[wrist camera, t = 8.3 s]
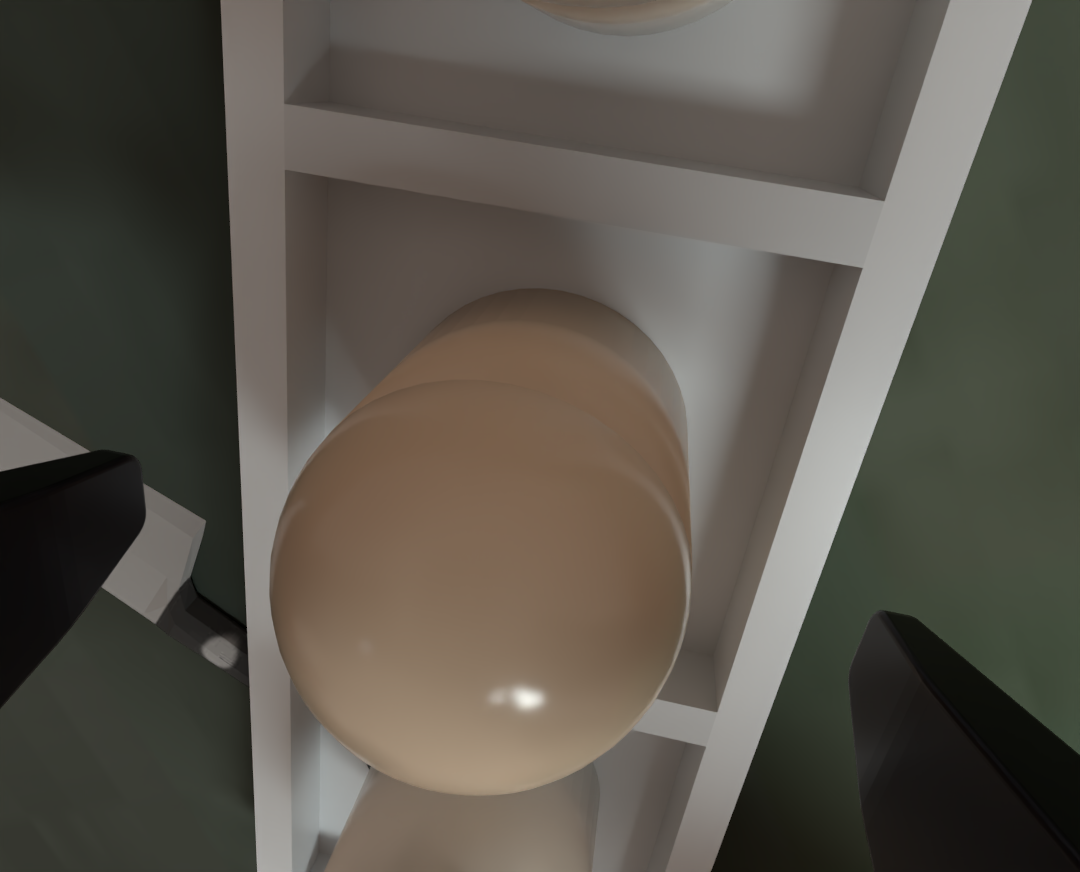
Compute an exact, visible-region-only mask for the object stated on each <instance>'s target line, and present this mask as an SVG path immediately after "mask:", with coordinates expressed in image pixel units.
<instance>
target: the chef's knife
mask: <svg viewBox="0 0 1080 872" xmlns="http://www.w3.org/2000/svg"><path fill="white" fill-rule="evenodd" d="M88 452H90V451H88V450H87V449H85V448H83V447H82V446H80V445H78V444H77V443H75V442H73V441H72V440H70V439H68V438H67V437H65V436H63V435H62V434H60V433H58V432H57V431H55V430H53V429H52V428H50V427H48V426H47V425H45V424H43V423H42V422H40V421H38V420H37V419H35V418H33V417H32V416H30V415H28V414H27V413H25V412H23V411H22V410H20V409H18V408H17V407H15V406H13V405H12V404H10V403H8V402H7V401H5V400H3V399H2V398H0V471H5V470H9V469H14V468H19V467H23V466H28V465H32V464H37V463H42V462H46V461H51V460H56V459H60V458H65V457H69V456H74V455H79V454H83V453H88ZM143 485H144V494H145V504H146V520H145V523H144V526H143V528H142V530H141V532H140V534H139V535H138V537H137V538H136V539H135V541H134V542H133V544H132V545H131V546H130V548H129V549H128V551H127V552H126V553H125V555H124V556H123V557H122V559H121V560H120V562H119V563H118V564H117V566H116V567H115V569H114V570H113V571H112V573H111V574H110V576H109V577H108V578H107V580H106V581H105V583H104V584H103V585H102V588H104V589H105V590H107V591H108V592H109V593H111V594H112V595H114V596H115V597H117V598H118V599H120V600H121V601H123V602H124V603H126V604H127V605H129V606H130V607H131V608H133V609H134V610H136V611H137V612H139V613H140V614H142V615H143V616H145V617H146V618H147V619H149V620H150V621H152V622H153V623H155V624H156V625H157V626H158V627H159V628H160V629H162V630H163V631H164V632H165V633H166V634H167V635H169V636H170V637H172V638H173V639H175V640H177V641H178V642H180V643H181V644H183V645H185V646H186V647H188V648H189V649H191V650H193V651H194V652H196V653H197V654H199V655H201V656H202V657H204V658H205V659H207V660H209V661H210V662H212V663H213V664H215V665H216V666H218V667H219V668H221V669H222V670H224V671H225V672H227V673H228V674H230V675H231V676H233V677H234V678H236V679H237V680H239V681H240V682H242V683H243V684H245V685H246V686H248V687H249V688H250V685H249V662H248V638H247V631H246V630H245V629H244V628H243V627H241V626H240V625H239V624H237V623H236V622H234V621H233V620H232V619H230V618H229V617H227V616H226V615H225V614H223V613H222V612H220V611H219V610H218V609H216V608H215V607H214V606H212V605H211V604H209V603H208V602H207V601H205V600H204V599H202V598H201V597H200V596H199V595H198V594H197V592H196V590H195V588H194V585H193V583H192V580H191V577H190V576H191V573H192V570H193V566H194V563H195V560H196V557H197V553H198V550H199V547H200V544H201V540H202V537H203V533H204V528H205V524H206V521H205V520H204V519H202V518H200V517H199V516H197V515H195V514H194V513H192V512H190V511H189V510H187V509H185V508H184V507H182V506H180V505H179V504H177V503H175V502H174V501H172V500H170V499H169V498H167V497H165V496H164V495H162V494H160V493H159V492H157V491H155V490H154V489H152V488H150V487H149V486H147V485H145V484H144V483H143ZM367 766H368V768H369V770H370V767H371V766H370V765H368V764H367Z"/></svg>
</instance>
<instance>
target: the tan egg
mask: <svg viewBox="0 0 1080 872" xmlns="http://www.w3.org/2000/svg"><path fill="white" fill-rule="evenodd" d="M691 595H692V542H691V512H690V483H689V453H688V425H687V416H686V408H685V404H684V400H683V396H682V393H681V389H680V387H679V384H678V382H677V380H676V377H675V375H674V373H673V370H672V369H671V367H670V366H669V364H668V362H667V361H666V359H665V357H664V356H663V354H662V353H661V352H660V350H659V349H658V348H657V347H656V345H655V344H654V343H653V342H652V340H651V339H650V338H649V337H648V336H647V335H646V334H645V333H643V332H642V331H641V330H640V329H639V328H638V327H637V326H636V325H635V324H634V323H632V322H631V321H629V320H628V319H627V318H625V317H624V316H622V315H621V314H620V313H618V312H616V311H614V310H613V309H611V308H609V307H607V306H605V305H603V304H602V303H599V302H597V301H594V300H592V299H589V298H586V297H584V296H581V295H577V294H573V293H569V292H565V291H561V290H552V289H543V288H530V289H515V290H509V291H502V292H498V293H495V294H492V295H488V296H485V297H482V298H480V299H477V300H475V301H473V302H471V303H469V304H466V305H464V306H463V307H461V308H460V309H458V310H457V311H455V312H453V313H452V314H450V315H449V316H448V317H446V318H445V319H444V320H443V321H442V322H441V323H440V324H438V325H437V326H436V327H435V328H434V329H433V330H432V331H431V332H430V333H429V334H428V335H427V336H426V337H425V338H424V339H423V340H422V341H421V342H420V343H419V344H418V345H417V346H416V347H415V348H414V349H413V350H412V351H411V352H410V353H409V354H408V355H407V356H406V357H405V358H404V359H403V360H402V361H401V362H400V363H399V364H398V365H397V366H396V367H395V368H394V369H393V370H392V371H391V372H390V373H389V374H388V375H387V376H386V377H385V378H384V379H383V380H382V381H381V382H380V383H379V384H378V385H377V386H376V387H375V388H374V389H373V390H372V391H371V392H370V393H369V394H368V395H367V396H366V397H365V398H364V399H363V400H362V401H361V402H360V403H359V404H358V405H357V406H356V407H355V408H354V409H353V410H352V411H351V412H350V413H349V414H348V415H347V416H346V417H345V418H344V419H343V420H342V421H341V422H340V423H339V424H338V425H337V426H336V427H335V428H334V429H333V430H332V431H331V432H330V433H329V435H328V436H327V437H326V438H325V439H324V441H323V442H322V443H321V444H320V445H319V446H318V448H317V449H316V450H315V451H314V453H313V454H312V455H311V456H310V458H309V459H308V460H307V462H306V464H305V465H304V467H303V469H302V470H301V472H300V473H299V475H298V477H297V478H296V480H295V482H294V484H293V486H292V488H291V490H290V493H289V495H288V497H287V499H286V502H285V504H284V507H283V509H282V512H281V515H280V517H279V521H278V526H277V530H276V534H275V538H274V543H273V548H272V552H271V561H270V584H269V598H270V607H271V616H272V621H273V626H274V631H275V635H276V639H277V643H278V647H279V651H280V654H281V656H282V659H283V661H284V664H285V666H286V669H287V671H288V673H289V675H290V677H291V679H292V681H293V683H294V685H295V687H296V689H297V691H298V693H299V694H300V696H301V698H302V700H303V701H304V703H305V704H306V706H307V707H308V708H309V710H310V711H311V712H312V714H313V715H314V717H315V718H316V719H317V720H318V721H319V722H320V723H321V724H322V726H323V727H324V728H325V729H326V730H327V731H328V732H329V733H330V734H331V735H332V736H333V737H334V738H335V739H336V740H337V741H338V742H339V743H340V744H341V745H343V746H344V747H345V748H346V749H347V750H348V751H350V752H351V753H352V754H354V755H355V756H356V757H358V758H359V759H360V760H362V761H363V762H365V763H366V764H368V765H370V766H371V767H373V768H375V769H376V770H378V771H380V772H382V773H384V774H386V775H388V776H390V777H392V778H394V779H396V780H399V781H402V782H404V783H407V784H409V785H412V786H416V787H419V788H423V789H426V790H430V791H435V792H440V793H445V794H454V795H464V796H485V795H500V794H510V793H516V792H521V791H525V790H530V789H533V788H536V787H539V786H542V785H545V784H548V783H551V782H553V781H556V780H559V779H561V778H564V777H566V776H568V775H570V774H572V773H574V772H576V771H578V770H580V769H582V768H584V767H585V766H587V765H588V764H590V763H591V762H593V761H594V760H596V759H597V758H598V757H600V756H601V755H603V754H604V753H606V752H607V751H608V750H610V749H611V748H613V747H614V746H615V745H616V744H617V743H618V742H619V741H620V740H621V739H623V738H624V737H625V736H626V735H627V734H628V733H629V732H630V731H631V730H632V728H633V727H634V726H635V725H636V724H637V723H638V722H639V721H640V719H641V718H642V717H643V716H644V714H645V713H646V712H647V711H648V710H649V708H650V707H651V706H652V705H653V703H654V701H655V700H656V698H657V696H658V694H659V693H660V691H661V689H662V688H663V686H664V684H665V682H666V680H667V679H668V677H669V675H670V673H671V672H672V670H673V667H674V665H675V662H676V659H677V657H678V654H679V651H680V649H681V646H682V642H683V639H684V636H685V633H686V628H687V623H688V618H689V613H690V607H691Z"/></svg>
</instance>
